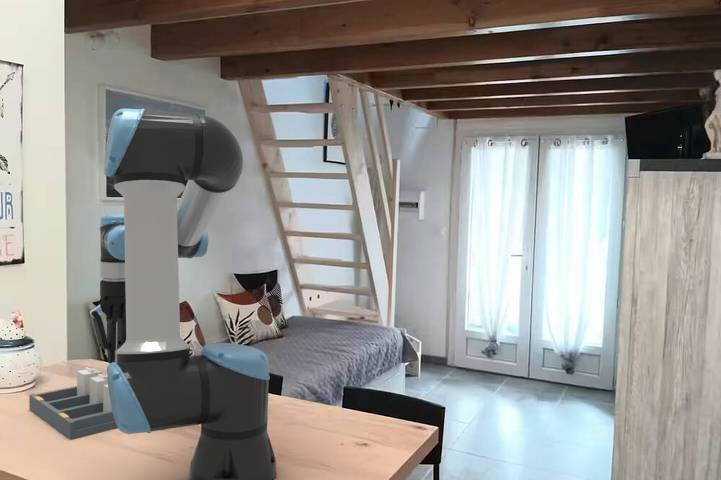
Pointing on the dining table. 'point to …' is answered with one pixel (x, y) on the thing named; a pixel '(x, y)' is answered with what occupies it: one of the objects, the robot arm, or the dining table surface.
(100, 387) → the white tall block
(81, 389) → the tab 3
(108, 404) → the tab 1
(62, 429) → the divided tray
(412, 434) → the dining table surface
